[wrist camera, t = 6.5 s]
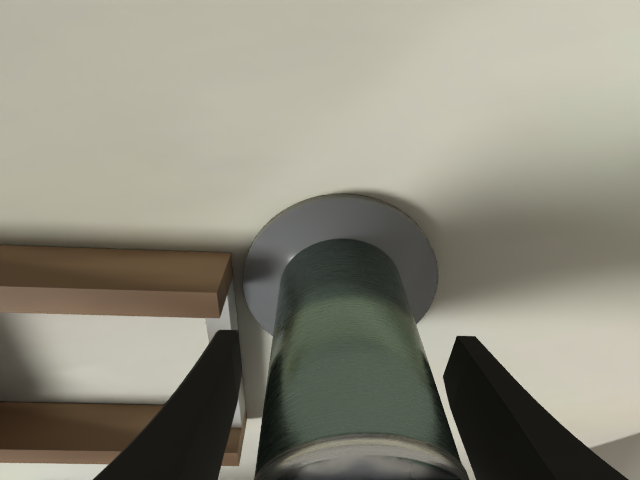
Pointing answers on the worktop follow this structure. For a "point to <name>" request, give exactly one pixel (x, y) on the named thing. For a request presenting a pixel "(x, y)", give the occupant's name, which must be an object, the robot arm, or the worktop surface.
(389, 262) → the tin can
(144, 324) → the worktop surface
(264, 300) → the coaster
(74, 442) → the frame
